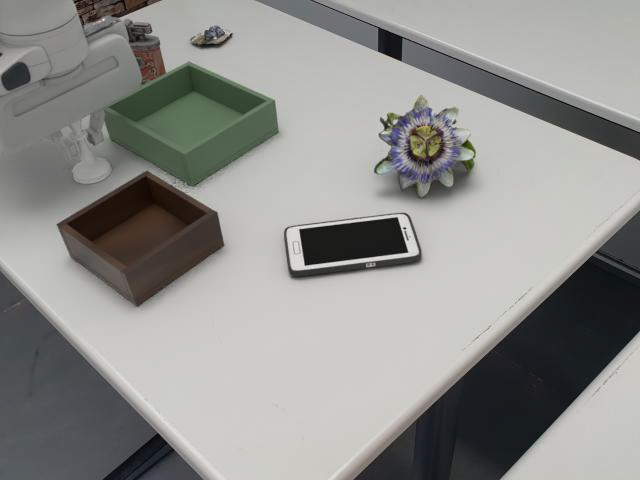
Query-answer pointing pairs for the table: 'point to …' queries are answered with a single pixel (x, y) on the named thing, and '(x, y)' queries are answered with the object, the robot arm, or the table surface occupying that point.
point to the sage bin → (191, 121)
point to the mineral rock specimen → (210, 36)
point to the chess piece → (87, 159)
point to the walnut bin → (142, 236)
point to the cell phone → (351, 244)
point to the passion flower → (425, 147)
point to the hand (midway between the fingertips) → (83, 149)
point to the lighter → (145, 50)
